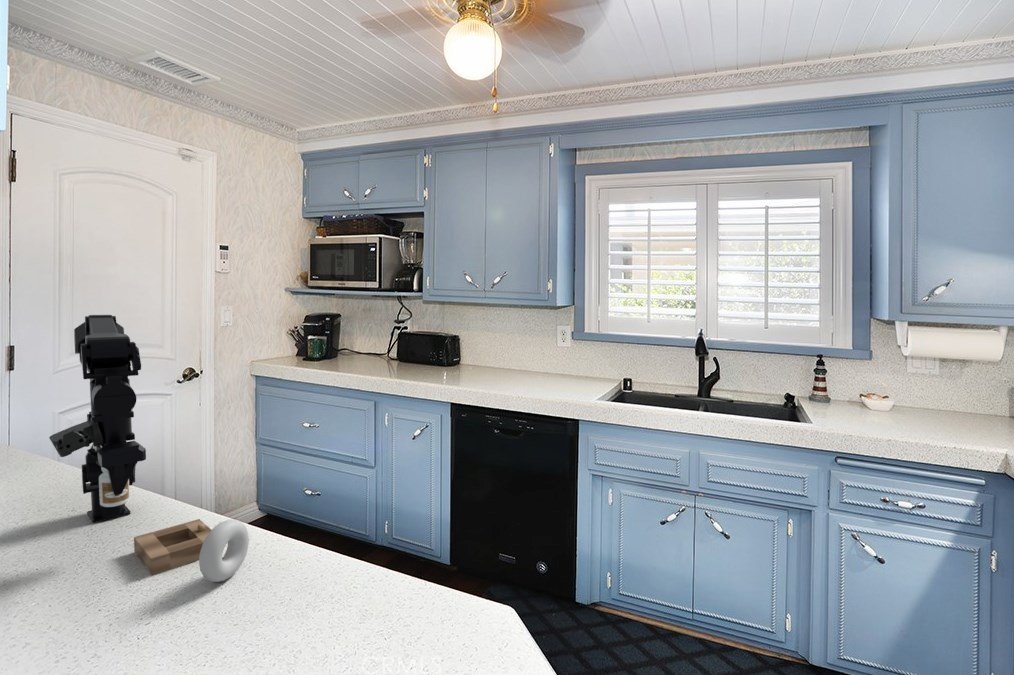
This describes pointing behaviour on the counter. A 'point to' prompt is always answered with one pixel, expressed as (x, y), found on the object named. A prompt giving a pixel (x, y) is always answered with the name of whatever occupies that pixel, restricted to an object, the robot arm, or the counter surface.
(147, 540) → the socket block
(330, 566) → the counter surface
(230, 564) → the donut
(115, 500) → the pill bottle
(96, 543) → the counter surface
